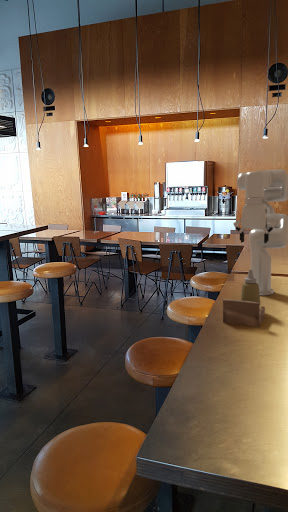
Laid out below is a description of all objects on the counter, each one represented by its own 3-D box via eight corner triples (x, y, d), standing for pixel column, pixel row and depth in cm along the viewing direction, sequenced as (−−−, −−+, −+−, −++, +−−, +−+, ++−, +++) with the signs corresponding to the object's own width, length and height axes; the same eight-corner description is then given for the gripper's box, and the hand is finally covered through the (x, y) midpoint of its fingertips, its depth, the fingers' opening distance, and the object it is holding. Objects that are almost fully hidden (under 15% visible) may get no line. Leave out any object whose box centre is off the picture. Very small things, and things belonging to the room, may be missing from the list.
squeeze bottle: (261, 315, 146) (262, 271, 143) (240, 314, 148) (240, 271, 145) (259, 309, 154) (259, 267, 151) (239, 308, 156) (239, 267, 153)
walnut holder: (231, 313, 150) (231, 292, 149) (264, 317, 144) (264, 295, 142) (223, 322, 141) (222, 299, 139) (258, 327, 134) (258, 303, 133)
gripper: (277, 201, 151) (276, 242, 154) (236, 202, 159) (236, 240, 162) (274, 201, 144) (273, 244, 147) (231, 202, 153) (231, 243, 156)
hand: (253, 242), depth 155 cm, fingers open, 9 cm apart
